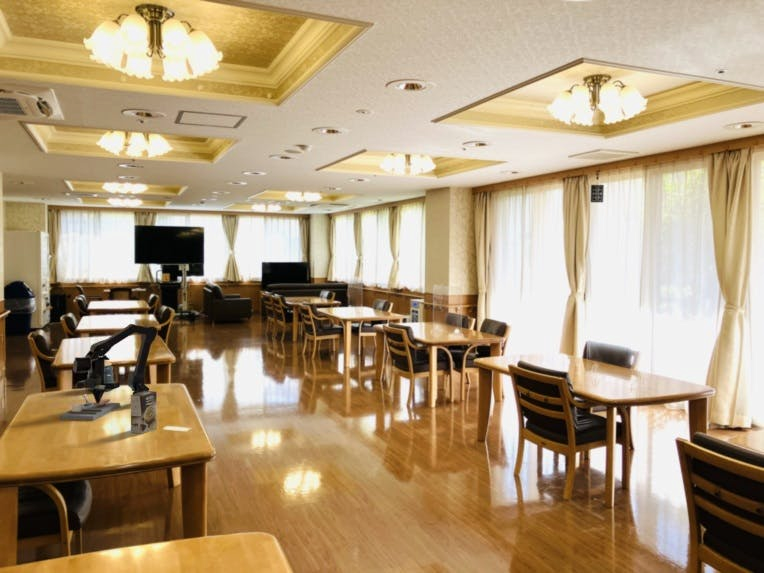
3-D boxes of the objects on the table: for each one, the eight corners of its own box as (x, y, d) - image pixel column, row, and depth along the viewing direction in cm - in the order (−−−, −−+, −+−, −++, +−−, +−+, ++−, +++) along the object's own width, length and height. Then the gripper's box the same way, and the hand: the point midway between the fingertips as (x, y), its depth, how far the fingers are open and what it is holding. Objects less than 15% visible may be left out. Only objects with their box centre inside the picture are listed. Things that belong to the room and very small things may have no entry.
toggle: (89, 401, 284) (86, 393, 283) (87, 402, 282) (84, 394, 282) (87, 402, 284) (83, 394, 284) (85, 403, 282) (81, 395, 282)
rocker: (109, 401, 286) (109, 399, 286) (101, 405, 279) (101, 403, 279) (101, 400, 286) (101, 398, 286) (93, 405, 279) (93, 402, 279)
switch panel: (120, 407, 287) (119, 401, 287) (93, 420, 265) (93, 414, 264) (88, 405, 289) (88, 400, 289) (59, 419, 266) (59, 413, 266)
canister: (118, 387, 327) (118, 356, 326) (105, 393, 314) (104, 360, 313) (96, 386, 328) (95, 355, 327) (82, 392, 315) (81, 359, 314)
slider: (82, 410, 272) (81, 403, 272) (78, 412, 269) (77, 405, 269) (75, 410, 272) (75, 403, 272) (71, 412, 269) (71, 405, 269)
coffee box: (142, 434, 247) (142, 396, 245) (130, 432, 249) (129, 394, 248) (157, 428, 255) (157, 391, 254) (145, 426, 257) (145, 390, 256)
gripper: (68, 372, 271) (68, 406, 272) (107, 373, 270) (107, 407, 270) (83, 368, 282) (82, 400, 283) (120, 369, 281) (120, 402, 281)
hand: (97, 402), depth 279 cm, fingers closed, pressing on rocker
